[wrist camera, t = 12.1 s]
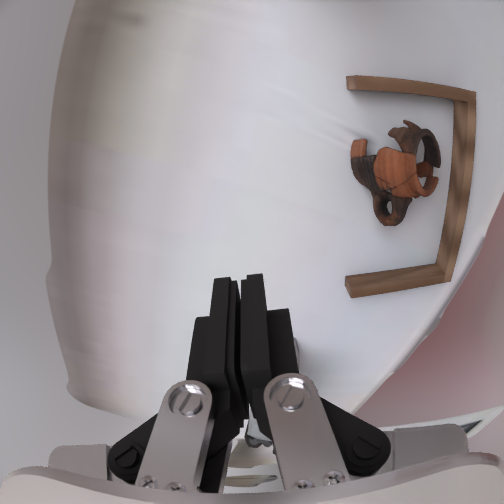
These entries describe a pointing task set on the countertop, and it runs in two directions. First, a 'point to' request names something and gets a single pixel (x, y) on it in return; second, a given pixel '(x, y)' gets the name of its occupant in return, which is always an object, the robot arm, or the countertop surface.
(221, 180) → the countertop surface
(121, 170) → the countertop surface
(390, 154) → the pottery mug
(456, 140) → the frame
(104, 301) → the countertop surface
